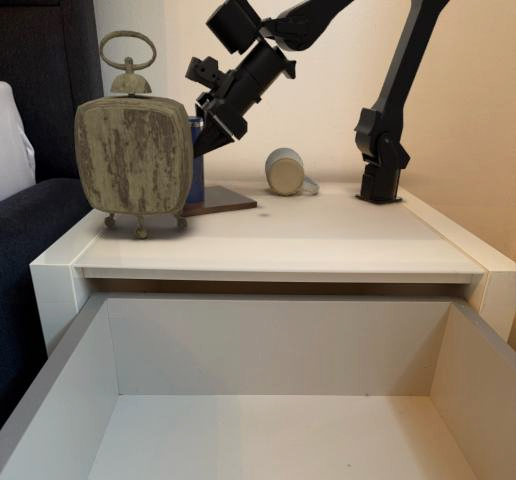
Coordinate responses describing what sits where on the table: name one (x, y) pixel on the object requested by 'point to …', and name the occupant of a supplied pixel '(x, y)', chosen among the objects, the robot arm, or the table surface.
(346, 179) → the table surface
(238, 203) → the desk pad
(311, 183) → the ceramic mug
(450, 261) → the table surface
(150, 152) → the tabletop clock
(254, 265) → the table surface
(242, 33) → the robot arm
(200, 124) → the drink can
